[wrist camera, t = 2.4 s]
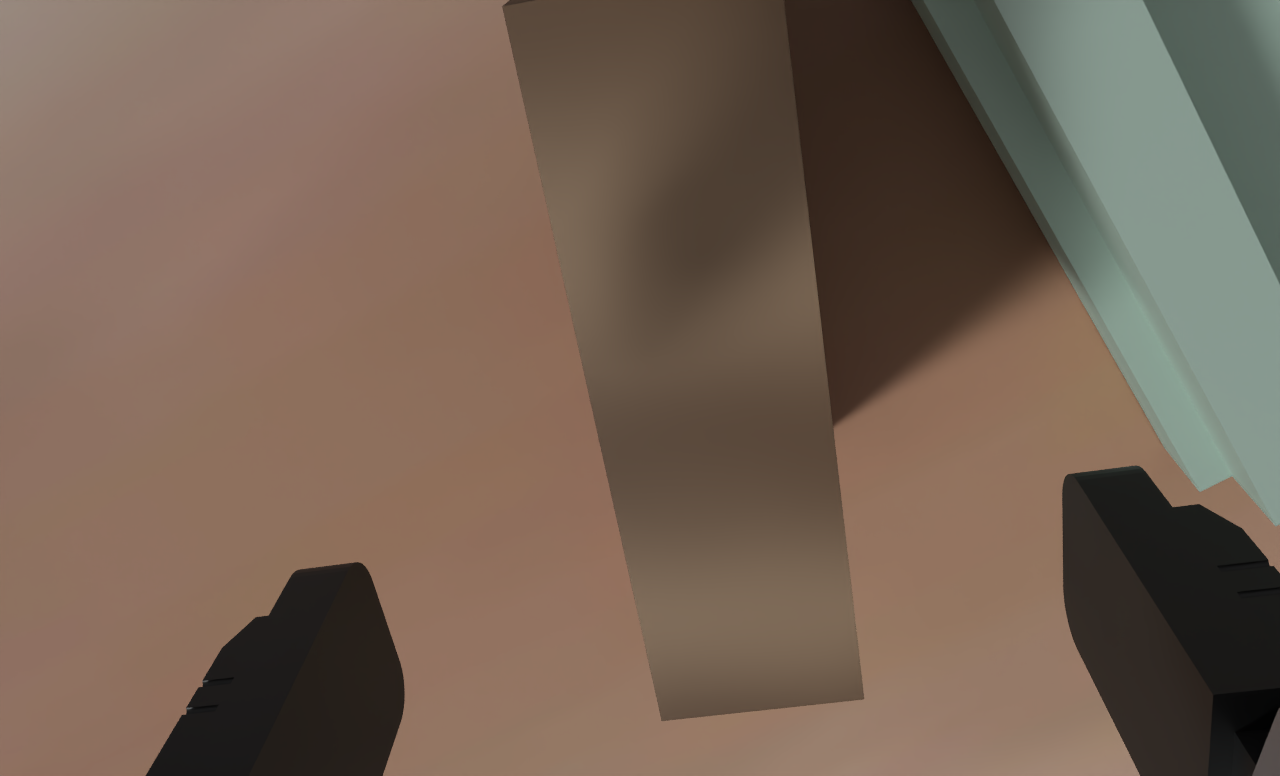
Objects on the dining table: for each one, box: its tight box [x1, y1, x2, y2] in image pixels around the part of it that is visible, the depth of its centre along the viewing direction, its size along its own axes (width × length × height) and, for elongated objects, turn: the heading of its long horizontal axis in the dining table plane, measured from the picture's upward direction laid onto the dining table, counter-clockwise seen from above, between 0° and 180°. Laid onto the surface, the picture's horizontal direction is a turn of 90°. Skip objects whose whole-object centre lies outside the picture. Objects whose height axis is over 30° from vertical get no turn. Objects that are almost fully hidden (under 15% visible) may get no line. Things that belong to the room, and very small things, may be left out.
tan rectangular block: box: [502, 0, 864, 721], centre depth 20 cm, size 12×4×9 cm, turn 10°
